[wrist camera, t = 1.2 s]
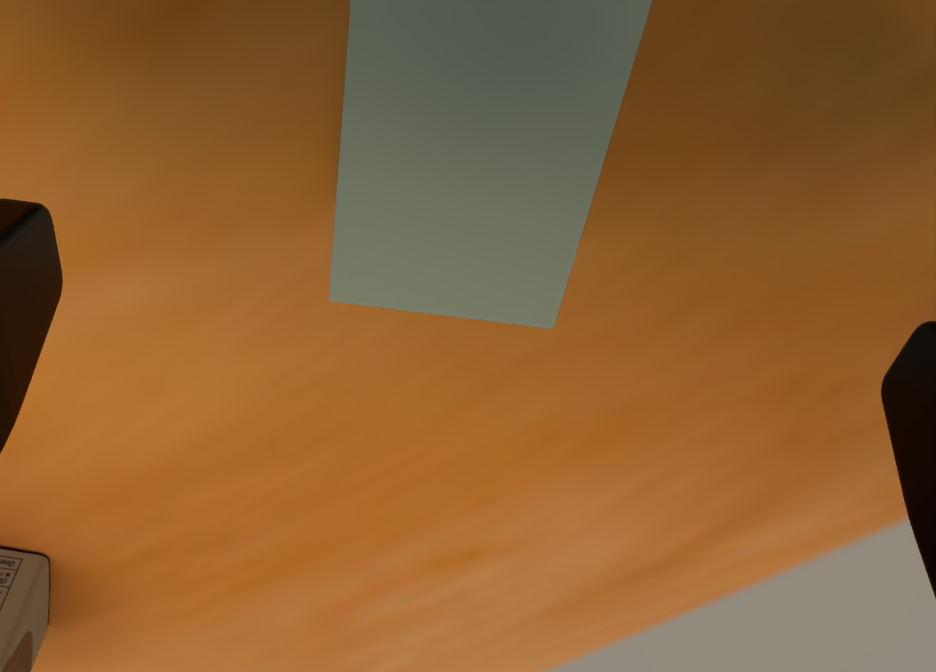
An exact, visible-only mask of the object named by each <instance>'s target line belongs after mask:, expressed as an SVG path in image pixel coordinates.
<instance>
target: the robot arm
mask: <svg viewBox="0 0 936 672" xmlns="http://www.w3.org/2000/svg"><path fill="white" fill-rule="evenodd" d="M62 283H63V279H62V269H61V264H60V259H59V253H58V248H57V243H56V237H55V232H54V226H53V221H52V217H51V215H50V213H49V211H48V209H47V208H46V207H45V206H43V205H42V204H40V203H34V202H27V201H19V200H12V199H0V453H1V451H2V450H3V448H4V446H5V443H6V441H7V439H8V437H9V435H10V433H11V431H12V429H13V426H14V424H15V422H16V419H17V417H18V414H19V411H20V409H21V406H22V404H23V401H24V398H25V395H26V393H27V390H28V387H29V384H30V381H31V378H32V376H33V373H34V370H35V367H36V364H37V362H38V359H39V356H40V353H41V350H42V347H43V345H44V342H45V339H46V336H47V333H48V331H49V328H50V325H51V322H52V319H53V316H54V314H55V311H56V308H57V305H58V302H59V299H60V296H61V291H62ZM881 397H882V403H883V407H884V412H885V416H886V421H887V425H888V430H889V434H890V439H891V443H892V448H893V452H894V456H895V461H896V465H897V470H898V474H899V479H900V483H901V488H902V492H903V497H904V501H905V505H906V509H907V513H908V517H909V520H910V523H911V527H912V529H913V533H914V536H915V539H916V542H917V545H918V548H919V551H920V554H921V557H922V560H923V563H924V566H925V569H926V572H927V575H928V577H929V580H930V583H931V586H932V589H933V592H934V595H935V598H936V321H929V322H925V323H923V324H921V325H920V326H919V327H917V328H916V329H915V331H914V332H913V333H912V335H911V336H910V338H909V339H908V341H907V342H906V344H905V345H904V347H903V348H902V350H901V351H900V353H899V355H898V356H897V358H896V359H895V361H894V362H893V364H892V365H891V367H890V368H889V370H888V371H887V373H886V375H885V376H884V379H883V382H882V388H881Z"/></svg>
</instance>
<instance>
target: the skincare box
mask: <svg viewBox="0 0 936 672" xmlns="http://www.w3.org/2000/svg"><path fill="white" fill-rule="evenodd" d="M48 610H49V563H48V559H47V558H46V557H44V556H41V555H37V554H31V553H23V552H18V551H12V550H5V549H0V672H31V669H32V667H33V664H34V662H35V659H36V656H37V654H38V651H39V649H40V646H41V644H42V641H43V639H44V636H45V633H46V630H47V624H48Z"/></svg>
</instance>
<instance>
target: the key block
mask: <svg viewBox="0 0 936 672" xmlns="http://www.w3.org/2000/svg"><path fill="white" fill-rule="evenodd" d="M651 3H652V0H351V2H350V16H349V30H348V43H347V57H346V71H345V84H344V98H343V112H342V125H341V139H340V153H339V166H338V180H337V194H336V207H335V221H334V235H333V248H332V262H331V276H330V289H329V301H330V302H338V303H346V304H354V305H362V306H370V307H378V308H386V309H394V310H402V311H410V312H418V313H426V314H434V315H442V316H450V317H458V318H466V319H474V320H482V321H490V322H498V323H506V324H514V325H522V326H530V327H538V328H546V329H554V326H555V322H556V319H557V316H558V312H559V309H560V306H561V302H562V299H563V296H564V292H565V289H566V286H567V282H568V279H569V276H570V272H571V269H572V266H573V262H574V259H575V256H576V253H577V249H578V246H579V243H580V239H581V236H582V233H583V229H584V226H585V223H586V219H587V216H588V213H589V209H590V206H591V203H592V199H593V196H594V193H595V189H596V186H597V183H598V179H599V176H600V173H601V169H602V166H603V163H604V159H605V156H606V153H607V150H608V146H609V143H610V140H611V136H612V133H613V130H614V126H615V123H616V120H617V116H618V113H619V110H620V106H621V103H622V100H623V96H624V93H625V90H626V86H627V83H628V80H629V76H630V73H631V70H632V66H633V63H634V60H635V56H636V53H637V50H638V47H639V43H640V40H641V37H642V33H643V30H644V27H645V23H646V20H647V17H648V13H649V10H650V7H651Z"/></svg>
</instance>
